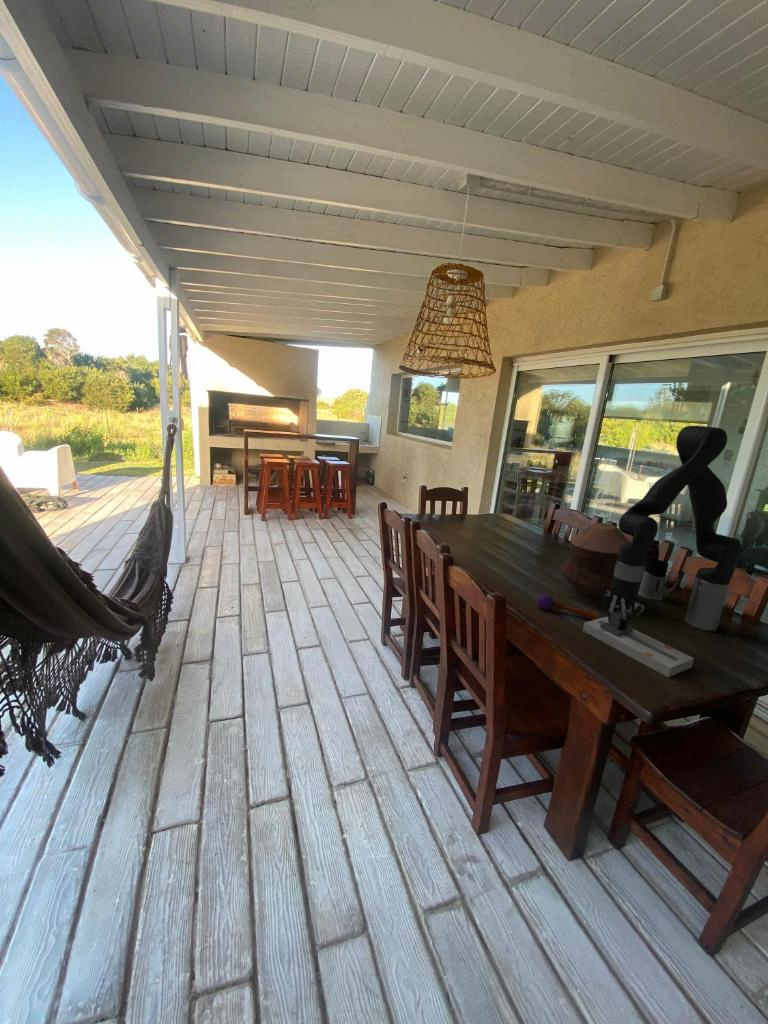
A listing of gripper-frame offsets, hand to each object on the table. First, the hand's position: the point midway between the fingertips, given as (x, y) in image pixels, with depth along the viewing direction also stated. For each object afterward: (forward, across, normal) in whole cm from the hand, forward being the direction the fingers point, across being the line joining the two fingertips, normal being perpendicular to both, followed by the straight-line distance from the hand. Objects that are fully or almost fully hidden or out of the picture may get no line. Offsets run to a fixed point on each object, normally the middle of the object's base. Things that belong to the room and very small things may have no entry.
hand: (616, 626), depth 131 cm
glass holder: (+5, +14, -48) cm, 50 cm away
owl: (+5, +30, -67) cm, 73 cm away
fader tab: (+1, 0, 0) cm, 1 cm away
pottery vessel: (+5, +26, -24) cm, 36 cm away
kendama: (+5, +19, +1) cm, 19 cm away
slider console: (+4, -6, 0) cm, 8 cm away
